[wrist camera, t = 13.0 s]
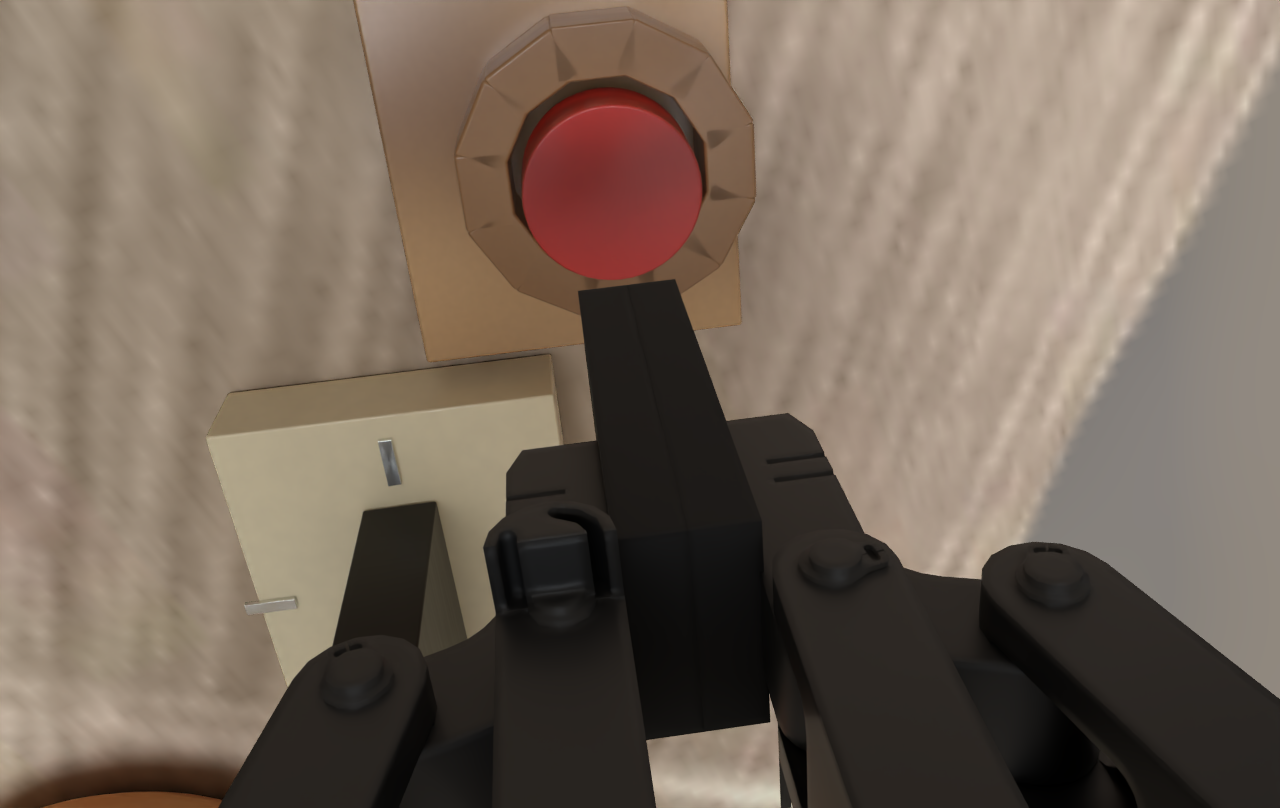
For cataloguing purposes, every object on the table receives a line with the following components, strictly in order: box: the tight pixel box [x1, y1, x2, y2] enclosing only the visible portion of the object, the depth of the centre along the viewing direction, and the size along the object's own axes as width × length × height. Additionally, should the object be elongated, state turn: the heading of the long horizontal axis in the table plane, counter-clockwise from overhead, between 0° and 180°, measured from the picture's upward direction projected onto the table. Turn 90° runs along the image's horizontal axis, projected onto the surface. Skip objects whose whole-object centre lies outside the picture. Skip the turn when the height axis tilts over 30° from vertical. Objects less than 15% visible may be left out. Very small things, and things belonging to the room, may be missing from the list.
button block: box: [353, 0, 756, 362], centre depth 26 cm, size 10×9×3 cm
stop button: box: [522, 87, 702, 280], centre depth 25 cm, size 4×4×2 cm
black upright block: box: [332, 502, 467, 657], centre depth 27 cm, size 6×2×8 cm, turn 6°
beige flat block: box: [206, 354, 564, 688], centre depth 32 cm, size 11×10×3 cm
